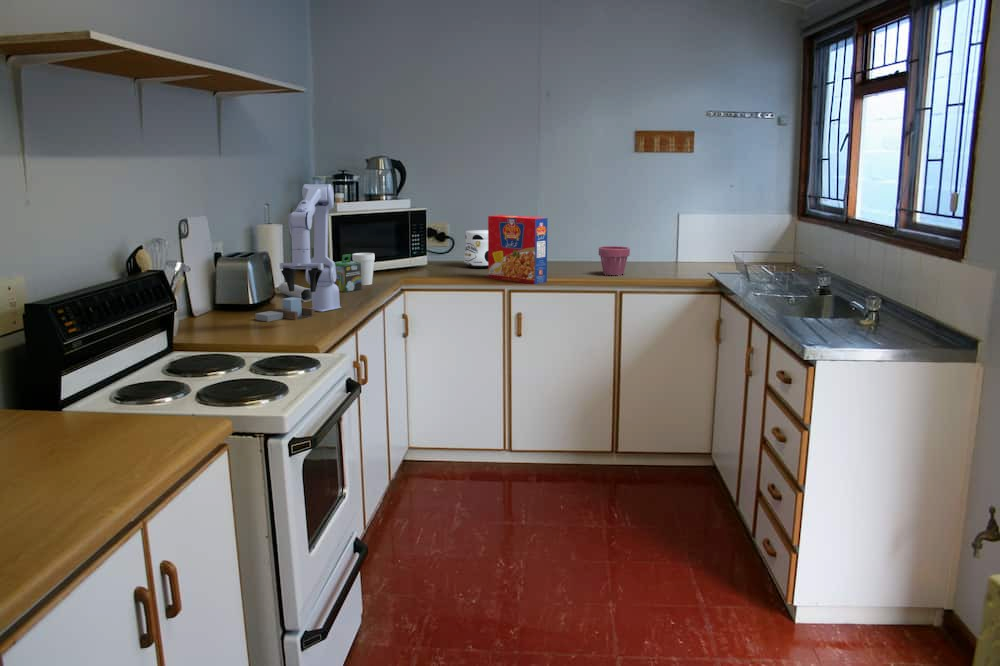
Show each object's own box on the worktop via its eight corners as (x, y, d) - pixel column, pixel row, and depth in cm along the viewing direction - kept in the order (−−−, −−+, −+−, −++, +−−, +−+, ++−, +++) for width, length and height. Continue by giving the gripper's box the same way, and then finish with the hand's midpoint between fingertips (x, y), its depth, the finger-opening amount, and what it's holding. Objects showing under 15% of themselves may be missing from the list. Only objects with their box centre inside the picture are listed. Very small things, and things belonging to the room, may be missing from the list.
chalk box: (348, 287, 333) (346, 252, 330) (362, 289, 327) (361, 254, 324) (330, 290, 326) (329, 254, 323) (345, 292, 320) (343, 256, 317)
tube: (274, 284, 318) (298, 291, 298) (286, 279, 320) (310, 286, 300) (279, 296, 320) (303, 304, 300) (291, 291, 322) (315, 298, 302)
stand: (271, 316, 271) (270, 310, 270) (283, 318, 267) (282, 312, 266) (255, 319, 266) (255, 313, 265) (267, 321, 262) (267, 315, 261)
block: (293, 314, 275) (292, 297, 274) (302, 315, 273) (301, 298, 271) (283, 316, 272) (282, 298, 270) (291, 317, 269) (290, 300, 268)
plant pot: (621, 272, 378) (622, 245, 376) (633, 276, 365) (634, 248, 362) (593, 273, 375) (594, 246, 372) (604, 277, 361) (605, 249, 359)
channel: (295, 312, 277) (295, 305, 277) (314, 315, 272) (314, 308, 271) (276, 316, 271) (275, 309, 270) (295, 319, 265) (294, 312, 264)
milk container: (459, 268, 392) (458, 232, 388) (470, 264, 408) (470, 229, 404) (492, 270, 387) (492, 233, 383) (502, 265, 403) (502, 230, 399)
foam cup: (379, 282, 346) (378, 253, 343) (369, 285, 337) (368, 255, 334) (359, 281, 349) (358, 252, 346) (349, 284, 340) (348, 254, 337)
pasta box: (488, 277, 360) (488, 216, 354) (500, 276, 366) (500, 215, 360) (534, 284, 341) (535, 219, 336) (546, 282, 347) (547, 218, 341)
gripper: (274, 249, 253) (275, 292, 255) (315, 249, 250) (317, 292, 252) (285, 249, 260) (286, 290, 262) (326, 249, 257) (327, 291, 258)
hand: (302, 291), depth 257 cm, fingers open, 7 cm apart
